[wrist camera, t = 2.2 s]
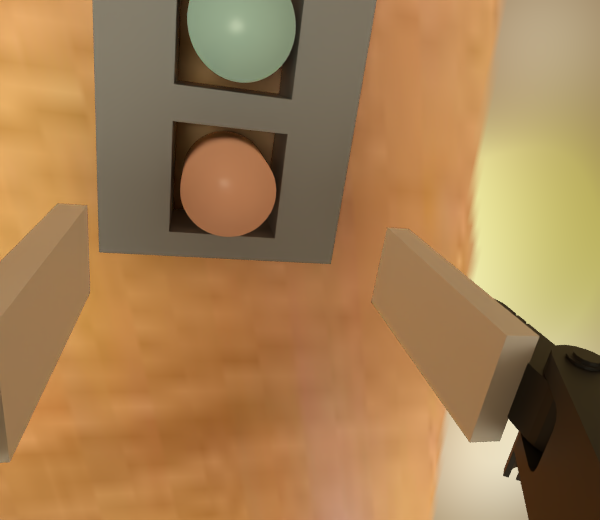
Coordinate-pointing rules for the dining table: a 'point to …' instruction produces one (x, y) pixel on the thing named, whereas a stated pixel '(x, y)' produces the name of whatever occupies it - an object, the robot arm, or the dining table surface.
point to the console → (225, 113)
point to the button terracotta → (227, 185)
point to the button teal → (242, 36)
